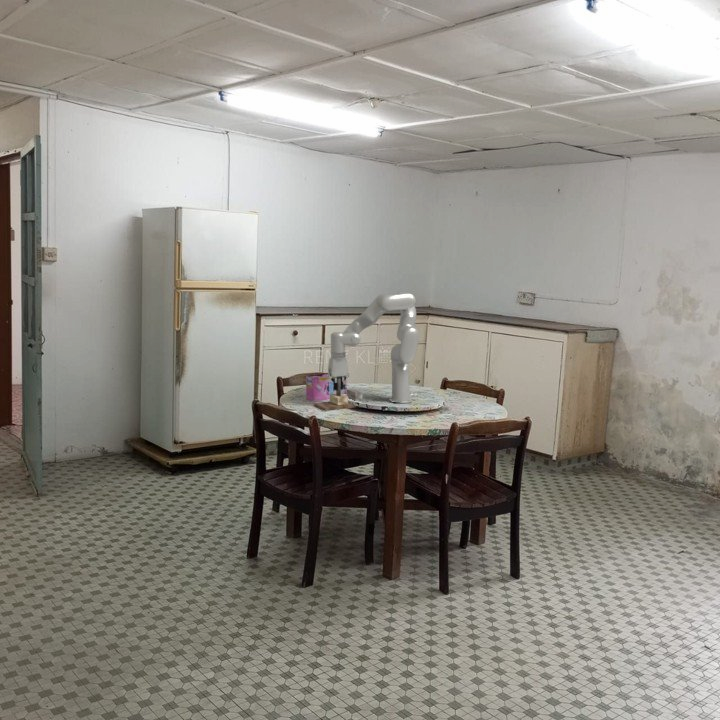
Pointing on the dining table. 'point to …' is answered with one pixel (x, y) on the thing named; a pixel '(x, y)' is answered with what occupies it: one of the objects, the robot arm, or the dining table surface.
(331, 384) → the gum box
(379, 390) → the dining table surface
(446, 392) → the dining table surface
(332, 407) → the press bench
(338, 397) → the press jaw
